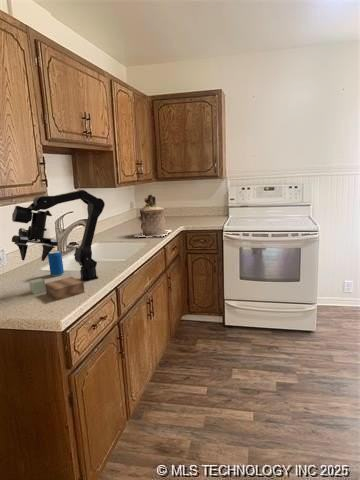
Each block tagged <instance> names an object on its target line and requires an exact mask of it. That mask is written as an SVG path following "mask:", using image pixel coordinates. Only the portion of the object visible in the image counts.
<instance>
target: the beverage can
mask: <svg viewBox="0 0 360 480" xmlns="http://www.w3.org/2000/svg"><path fill="white" fill-rule="evenodd" d="M47 258H48V266H49V272H50V275H51V276H52V277H59V276H62V275H63V274H65V273H64V272H65V271H64V264H63V263H64V261H63V256H62V252H61V251H60V250H53V251H52V250H51V251H50V253H49V254H48V255H47Z"/></svg>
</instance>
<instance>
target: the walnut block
mask: <svg viewBox="0 0 360 480" xmlns="http://www.w3.org/2000/svg"><path fill="white" fill-rule="evenodd" d="M45 287H46V291H45V292H46V295H48V297H50V298H52V299H54V300H55V301H59V300H64V299H67V298H71V297H74V296H77V295H81V294H82V295H83V294H85V292H86V291H85V284H84V281H83V280H79V279H78V278H75V277H73V276H69V277H66V278H61V279H57V280H54V281H50V282H45Z"/></svg>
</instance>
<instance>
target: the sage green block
mask: <svg viewBox="0 0 360 480" xmlns="http://www.w3.org/2000/svg"><path fill="white" fill-rule="evenodd" d="M28 282H29V290H30V293H32V294H34V295H36V294H41V293H44V292H46V287H45V283H46V281H45V279H43V278H41V277H40V278H36V279H32V280H28Z"/></svg>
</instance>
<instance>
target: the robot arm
mask: <svg viewBox="0 0 360 480" xmlns="http://www.w3.org/2000/svg"><path fill="white" fill-rule="evenodd" d="M77 200H81V201H82V202H83V203H84V204H86V205H87V208H86V210H87V219H86V222H85V223H86V224H85V228H84V232H83V236H82V240H81V244H80V245H79V246H78V247H75V249H74V254H73V256H74V260H75V262H76V263H77V264H78V265H79V266H80V270H79V273H80V279H81V280H82V281H84V282H88V281H92V280H95V279H99V276H98V275H97V264H98V262H97V261H96V260H94V258H93V250H92V244H93V240H94V237H95V231H96V228H97V224H98V220H99V217H100V216H101V214H102V213H103V210H104V209H105V205H106V204H105V201H104V200H103V199H102V198H99V197H97V196H94V195H93V194H91V193H90V192H88V191H87V190H85V189H77V190H76V191H75V190H74V191H70V192H65V193H61V194H56V195H38V196H35V197H34V198H33V200H32V202H31V203H30V204H29V205H28V206H27V207H23V206H20V205H15V208H14V210H13V212H12V216H11V217H12V218H11V219H12V222H14V223H20V224H29V223H30V222H31V223H30V225H29V226H28V228H27V229H25V228H24V227H20V228H19V229H18V235H16V234H15V235H13V236H12V237H11V242H12V243H14V245H16V246H17V247H18V249H19V253H20V257H21V260H22V261H23V262H24V261H25V259H26V256H27V251H28V247H29V245H28V243H30V244H31V243H32V244H42V254H41V261H42V262H45V260H46V258H48V254H49V253H50V252H51V251H52V250H53V249H55V248H56V247H58V246H59V241H58V239H56V238H50V237H49V238H47V237H45V232H46V231H47V230H48V228H46V226H47V225H46V224H47V223H46V222H47V217H52V216H53V214H52V213H51V212H50V210H49V209H50V208H53V207H55V206H57V205H59V204H63V203H64V204H65V203H67V202H72V201H77Z"/></svg>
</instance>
